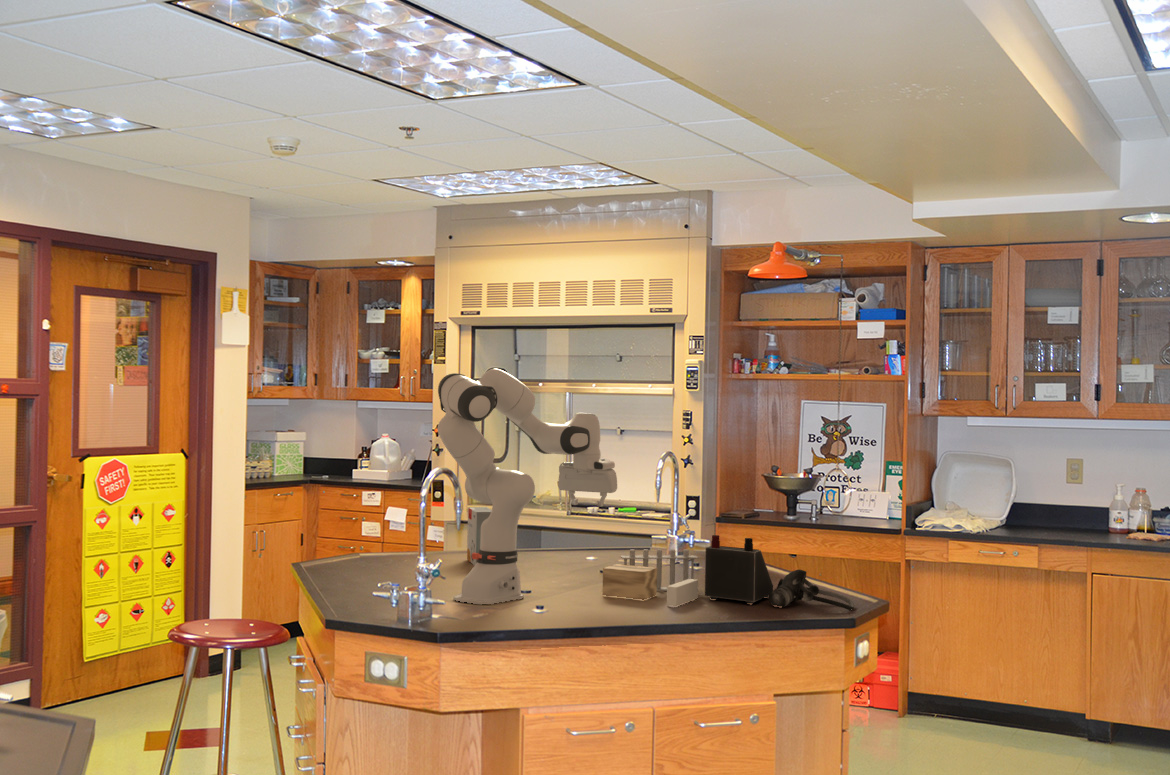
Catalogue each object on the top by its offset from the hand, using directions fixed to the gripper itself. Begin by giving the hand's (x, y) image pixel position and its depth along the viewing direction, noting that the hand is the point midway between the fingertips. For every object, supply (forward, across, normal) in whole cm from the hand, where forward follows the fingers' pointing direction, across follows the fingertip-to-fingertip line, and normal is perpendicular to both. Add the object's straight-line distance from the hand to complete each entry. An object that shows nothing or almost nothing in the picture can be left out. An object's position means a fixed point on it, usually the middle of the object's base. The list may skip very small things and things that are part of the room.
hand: (587, 505), depth 332 cm
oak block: (+27, +17, -5) cm, 32 cm away
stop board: (+27, +35, -5) cm, 45 cm away
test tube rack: (+28, +20, +10) cm, 36 cm away
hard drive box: (+28, -58, +23) cm, 69 cm away
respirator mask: (+29, +70, +13) cm, 77 cm away
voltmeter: (+28, +47, +11) cm, 56 cm away
